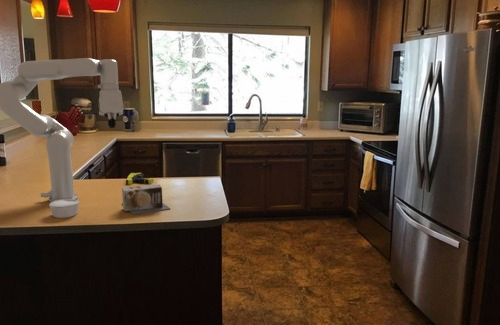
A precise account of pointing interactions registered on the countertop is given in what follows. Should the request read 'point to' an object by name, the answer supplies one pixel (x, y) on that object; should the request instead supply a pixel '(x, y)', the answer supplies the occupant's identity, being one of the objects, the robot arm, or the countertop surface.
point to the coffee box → (142, 197)
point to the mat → (149, 210)
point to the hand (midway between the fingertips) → (112, 127)
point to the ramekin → (64, 208)
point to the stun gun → (138, 179)
